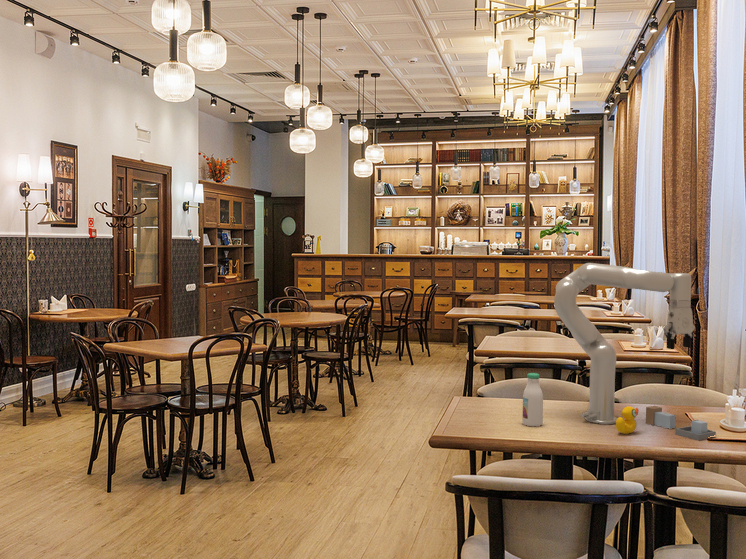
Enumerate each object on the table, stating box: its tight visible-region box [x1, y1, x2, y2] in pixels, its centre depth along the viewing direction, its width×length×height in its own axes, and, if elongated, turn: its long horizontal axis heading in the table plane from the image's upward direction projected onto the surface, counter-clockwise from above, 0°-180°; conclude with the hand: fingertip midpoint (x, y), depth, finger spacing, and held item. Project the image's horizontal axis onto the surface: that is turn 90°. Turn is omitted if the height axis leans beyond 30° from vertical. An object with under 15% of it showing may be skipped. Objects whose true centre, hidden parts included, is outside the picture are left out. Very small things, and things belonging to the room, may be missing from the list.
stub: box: [690, 419, 708, 434], centre depth 251 cm, size 4×4×5 cm
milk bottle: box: [522, 372, 544, 427], centre depth 267 cm, size 8×8×20 cm
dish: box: [674, 425, 717, 441], centre depth 253 cm, size 10×10×2 cm
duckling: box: [615, 405, 639, 435], centre depth 255 cm, size 11×5×10 cm, turn 122°
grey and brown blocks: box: [645, 405, 677, 430], centre depth 267 cm, size 5×10×6 cm, turn 29°
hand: (678, 348), depth 267 cm, fingers open, 9 cm apart
